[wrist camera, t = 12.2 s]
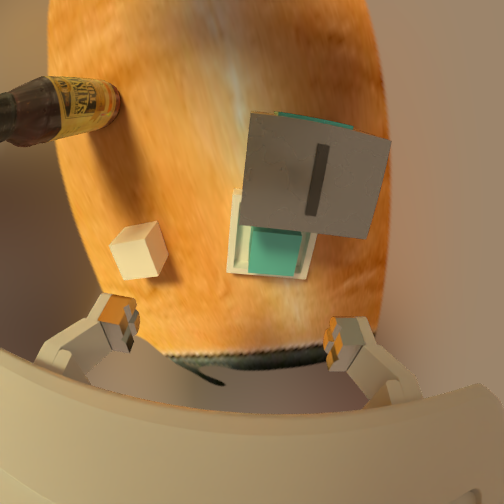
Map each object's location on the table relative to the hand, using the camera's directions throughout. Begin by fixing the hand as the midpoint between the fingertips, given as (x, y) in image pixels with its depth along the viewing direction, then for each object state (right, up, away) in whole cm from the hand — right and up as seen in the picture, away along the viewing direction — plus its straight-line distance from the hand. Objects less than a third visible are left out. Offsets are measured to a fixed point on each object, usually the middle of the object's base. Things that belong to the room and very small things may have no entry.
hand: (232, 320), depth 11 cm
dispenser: (+5, +14, +18) cm, 23 cm away
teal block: (+3, +5, +22) cm, 23 cm away
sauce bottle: (-17, +20, +14) cm, 30 cm away
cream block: (-13, +4, +23) cm, 27 cm away
